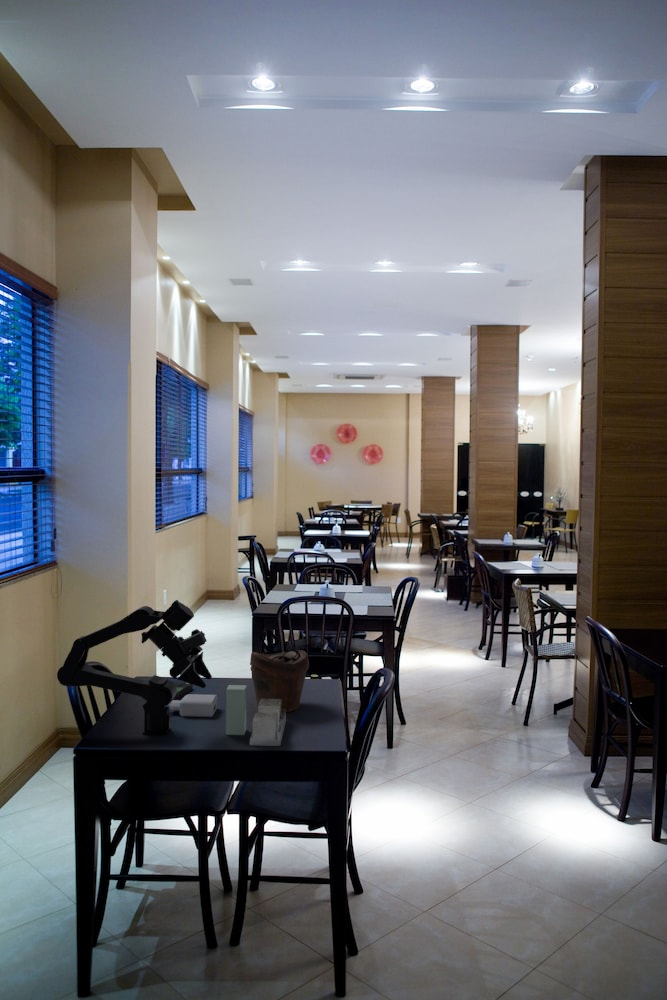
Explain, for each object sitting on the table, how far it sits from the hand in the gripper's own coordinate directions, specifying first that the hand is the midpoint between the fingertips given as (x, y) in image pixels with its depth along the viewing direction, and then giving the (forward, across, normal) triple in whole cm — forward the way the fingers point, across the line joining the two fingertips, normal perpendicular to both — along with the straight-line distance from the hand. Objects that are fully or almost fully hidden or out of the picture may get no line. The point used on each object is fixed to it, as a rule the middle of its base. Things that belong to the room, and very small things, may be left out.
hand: (208, 682), depth 209 cm
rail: (+22, 0, -2) cm, 22 cm away
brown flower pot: (+22, +25, -3) cm, 34 cm away
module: (+15, 0, +4) cm, 16 cm away
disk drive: (-4, +38, +24) cm, 45 cm away
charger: (+4, +18, +16) cm, 24 cm away
